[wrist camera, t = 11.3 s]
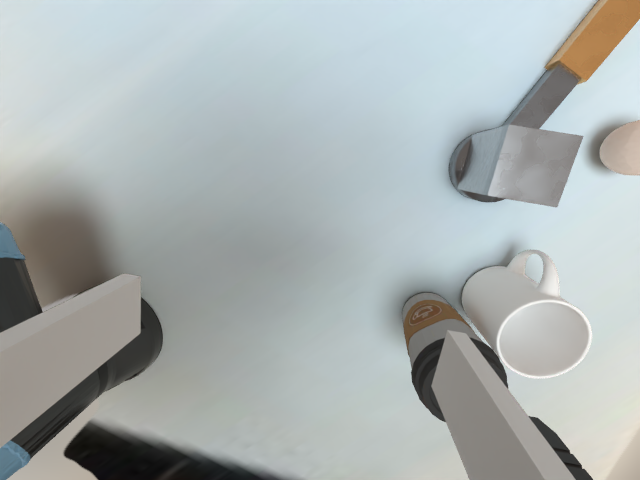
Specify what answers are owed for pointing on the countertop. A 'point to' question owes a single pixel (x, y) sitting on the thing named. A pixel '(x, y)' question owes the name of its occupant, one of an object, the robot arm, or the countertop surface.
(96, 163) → the countertop surface
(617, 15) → the ratchet
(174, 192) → the countertop surface
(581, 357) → the mug
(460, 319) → the coffee cup
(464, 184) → the grey rectangular block
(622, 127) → the egg
